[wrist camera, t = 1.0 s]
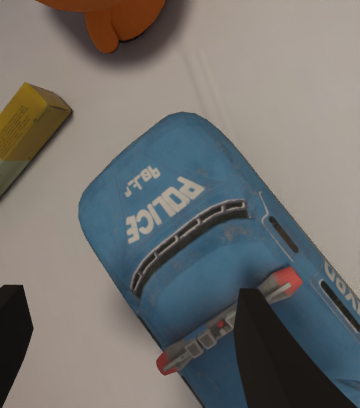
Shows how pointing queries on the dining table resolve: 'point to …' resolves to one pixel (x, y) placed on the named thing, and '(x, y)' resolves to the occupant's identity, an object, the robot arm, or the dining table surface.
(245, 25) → the dining table surface
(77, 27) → the dining table surface
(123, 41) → the toy
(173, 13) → the dining table surface
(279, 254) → the toy car
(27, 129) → the medication box
